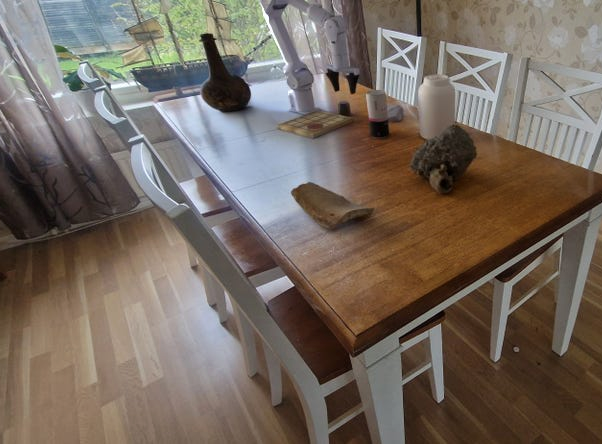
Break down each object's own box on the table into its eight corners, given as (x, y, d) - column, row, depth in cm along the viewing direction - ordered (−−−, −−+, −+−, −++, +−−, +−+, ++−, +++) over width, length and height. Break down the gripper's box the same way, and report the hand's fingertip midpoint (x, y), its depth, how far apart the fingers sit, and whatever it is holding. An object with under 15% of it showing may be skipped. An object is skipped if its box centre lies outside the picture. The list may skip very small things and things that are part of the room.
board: (278, 128, 137) (277, 124, 136) (318, 113, 151) (318, 109, 151) (313, 138, 130) (312, 133, 129) (352, 121, 144) (352, 117, 143)
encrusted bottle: (447, 110, 102) (457, 119, 89) (481, 147, 108) (496, 161, 95) (401, 158, 106) (403, 173, 92) (436, 191, 111) (444, 210, 98)
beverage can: (366, 136, 131) (361, 93, 123) (378, 131, 136) (373, 88, 128) (382, 140, 129) (377, 96, 120) (393, 134, 134) (389, 91, 125)
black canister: (336, 115, 150) (334, 102, 147) (344, 112, 153) (343, 100, 150) (345, 117, 148) (343, 104, 145) (353, 114, 151) (351, 101, 149)
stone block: (400, 126, 145) (405, 113, 152) (398, 115, 141) (403, 102, 148) (370, 126, 146) (376, 113, 153) (368, 115, 142) (374, 102, 149)
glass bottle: (263, 106, 158) (243, 33, 143) (222, 118, 146) (196, 38, 130) (238, 99, 166) (217, 29, 150) (197, 110, 154) (170, 34, 138)
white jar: (428, 144, 127) (427, 83, 115) (414, 132, 136) (411, 74, 124) (460, 138, 131) (462, 78, 120) (444, 126, 141) (445, 70, 129)
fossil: (325, 200, 101) (289, 206, 93) (326, 177, 98) (289, 181, 91) (375, 229, 88) (338, 238, 81) (377, 204, 86) (339, 211, 79)
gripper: (316, 54, 135) (323, 92, 143) (348, 58, 130) (354, 97, 138) (329, 50, 140) (335, 88, 148) (361, 54, 135) (365, 92, 143)
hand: (345, 92), depth 143 cm, fingers open, 7 cm apart
